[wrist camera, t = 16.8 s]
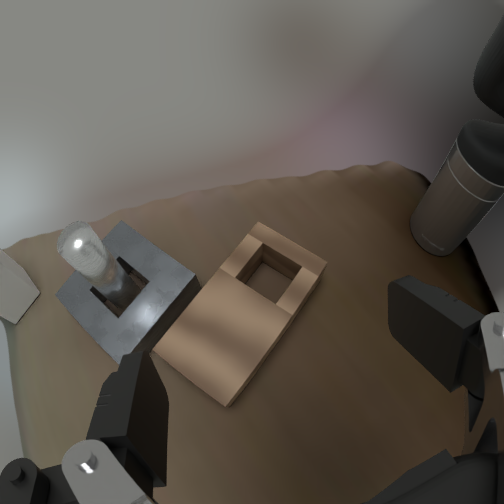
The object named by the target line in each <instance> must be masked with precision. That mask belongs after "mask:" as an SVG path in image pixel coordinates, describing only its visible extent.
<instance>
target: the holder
mask: <svg viewBox="0 0 504 504" xmlns="http://www.w3.org/2000/svg"><path fill="white" fill-rule="evenodd" d="M102 243H103V244H104V245H105V246H106V248H107V249H108V250H109V252H110V253H111V254H112V255H113V257H114V258H115V259H116V260H117V262H118V263H119V264H120V265H121V267H122V268H123V269H124V270H125V271H126V273H127V274H129V272H130V271H132V272H133V273H134V274H135V275H137V276H138V277H139V278H140V279H141V280H143V281H144V282H145V283H146V284H147V285H146V286H145V288H144V289H143V290H142V291H141V292H140V293H139V295H138V296H137V297H136V298H135V299H134V301H133V302H132V303H131V304H130V305H129V306H128V308H127V309H126V310H125V311H124V312H123V314H122V315H121V316H120V317H119V316H117V315H116V314H115V313H114V312H113V311H112V310H111V309H110V308H109V307H108V306H107V305H106V304H105V303H104V302H105V300H106V299H107V298H106V297H105V296H104V295H103V294H101V293H100V292H99V291H98V290H97V289H96V288H95V287H94V286H93V285H92V284H90V283H89V282H88V281H87V280H86V279H85V278H84V277H83V276H82V275H81V274H80V273H79V272H78V271H77V270H75V271H74V273H73V274H72V275H71V276H70V277H69V279H68V280H67V281H66V282H65V283H64V285H63V286H62V287H61V288H60V289H59V291H58V292H57V293H56V294H55V295H56V297H57V298H58V299H59V300H60V301H61V303H62V304H63V305H64V306H65V307H66V308H67V310H68V311H69V312H70V313H71V314H72V315H73V317H74V318H75V319H76V320H77V321H78V322H79V323H80V324H81V326H82V327H83V328H84V329H85V330H86V331H87V332H88V333H89V334H90V335H91V336H92V337H93V339H94V340H95V341H96V342H97V343H98V344H99V345H100V346H101V347H102V348H103V349H104V350H105V351H106V352H107V353H108V354H109V355H110V356H111V357H112V358H113V359H114V360H115V361H116V362H117V363H118V364H119V365H120V362H121V359H122V356H123V355H125V354H130V353H135V352H140V351H147V352H148V354H149V352H150V351H151V350H152V349H153V348H154V346H155V345H156V344H157V343H158V341H159V340H160V339H161V338H162V336H163V335H164V334H165V333H166V332H167V330H168V329H169V328H170V327H171V325H172V324H173V323H174V322H175V321H176V319H177V318H178V317H179V316H180V314H181V313H182V312H183V311H184V310H185V308H186V307H187V306H188V305H189V303H190V302H191V301H192V300H193V299H194V297H195V296H196V295H197V294H198V293H199V291H200V290H201V286H200V284H199V282H198V279H197V277H196V275H195V274H194V273H193V272H191V271H190V270H188V269H187V268H186V267H184V266H183V265H181V264H180V263H179V262H177V261H176V260H175V259H173V258H172V257H170V256H169V255H168V254H166V253H165V252H163V251H162V250H161V249H159V248H158V247H157V246H155V245H154V244H153V243H151V242H150V241H148V240H147V239H146V238H144V237H143V236H142V235H140V234H139V233H138V232H136V231H135V230H134V229H132V228H131V227H130V226H128V225H127V224H126V223H124V222H123V221H122V220H121V221H120V222H119V223H118V224H117V225H116V226H115V227H114V228H113V229H112V230H111V232H110V233H109V234H108V235H107V236H106V237H105V238H104V239H103V240H102Z"/></svg>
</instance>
